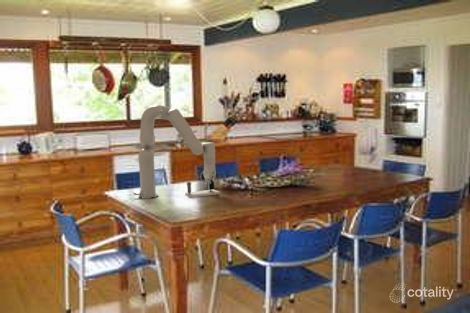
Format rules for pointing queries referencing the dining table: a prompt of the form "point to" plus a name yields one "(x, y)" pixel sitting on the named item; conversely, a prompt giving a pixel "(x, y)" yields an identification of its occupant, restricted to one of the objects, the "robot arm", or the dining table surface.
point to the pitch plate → (199, 192)
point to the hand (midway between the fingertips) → (210, 188)
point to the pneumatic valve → (205, 178)
